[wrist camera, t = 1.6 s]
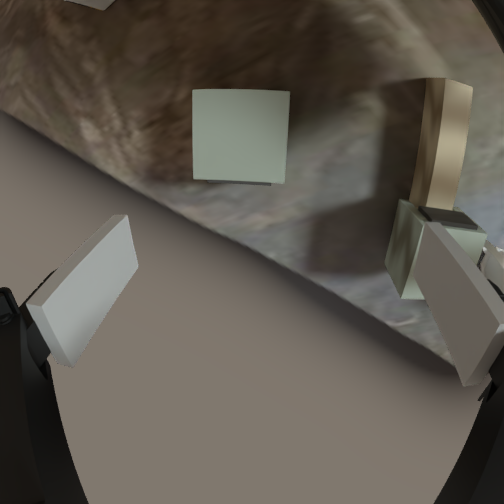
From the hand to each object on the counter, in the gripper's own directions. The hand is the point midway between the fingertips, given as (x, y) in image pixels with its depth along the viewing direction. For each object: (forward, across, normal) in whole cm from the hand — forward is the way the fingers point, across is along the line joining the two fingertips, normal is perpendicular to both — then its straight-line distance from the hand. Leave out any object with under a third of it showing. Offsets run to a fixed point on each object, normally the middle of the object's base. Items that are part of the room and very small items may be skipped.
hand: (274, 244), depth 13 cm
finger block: (+17, -3, +3) cm, 18 cm away
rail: (+18, +15, -1) cm, 23 cm away
